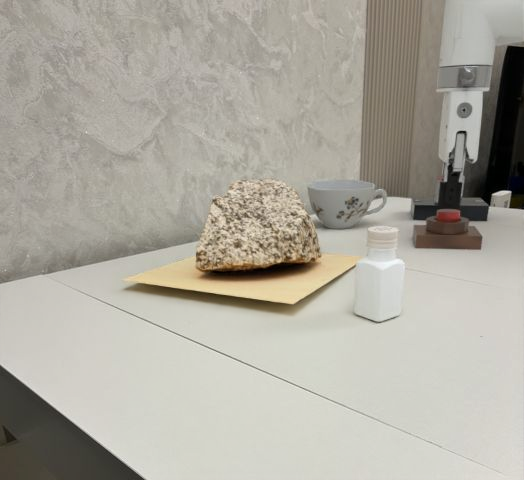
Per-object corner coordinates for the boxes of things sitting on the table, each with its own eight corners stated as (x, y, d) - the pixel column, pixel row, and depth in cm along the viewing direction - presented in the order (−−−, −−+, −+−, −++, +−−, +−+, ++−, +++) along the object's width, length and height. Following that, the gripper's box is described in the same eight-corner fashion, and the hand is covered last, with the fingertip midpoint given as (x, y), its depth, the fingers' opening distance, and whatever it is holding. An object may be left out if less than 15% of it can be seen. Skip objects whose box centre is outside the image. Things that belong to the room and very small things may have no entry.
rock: (226, 242, 93) (270, 155, 85) (326, 318, 90) (383, 234, 81) (116, 277, 70) (161, 161, 62) (244, 381, 66) (312, 274, 58)
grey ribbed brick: (452, 197, 115) (455, 174, 113) (462, 198, 114) (465, 174, 112) (434, 203, 109) (436, 178, 107) (443, 204, 108) (446, 179, 106)
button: (457, 219, 90) (458, 209, 90) (460, 224, 87) (461, 212, 87) (434, 219, 91) (436, 208, 90) (437, 223, 88) (438, 212, 87)
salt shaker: (351, 314, 61) (355, 228, 57) (375, 306, 63) (381, 223, 59) (378, 324, 58) (385, 234, 54) (403, 316, 60) (411, 229, 56)
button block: (472, 238, 93) (476, 215, 92) (480, 250, 86) (484, 224, 84) (412, 237, 95) (414, 214, 93) (415, 248, 88) (417, 223, 86)
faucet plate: (477, 211, 117) (479, 195, 116) (488, 223, 105) (490, 206, 104) (409, 210, 120) (411, 195, 118) (413, 221, 108) (414, 205, 107)
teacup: (307, 233, 100) (307, 188, 97) (305, 220, 111) (306, 179, 108) (390, 232, 99) (393, 186, 96) (380, 219, 111) (383, 178, 107)
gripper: (500, 78, 73) (480, 216, 81) (481, 82, 87) (465, 201, 94) (442, 79, 75) (427, 215, 82) (432, 83, 88) (420, 200, 96)
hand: (448, 207), depth 88 cm, fingers closed
